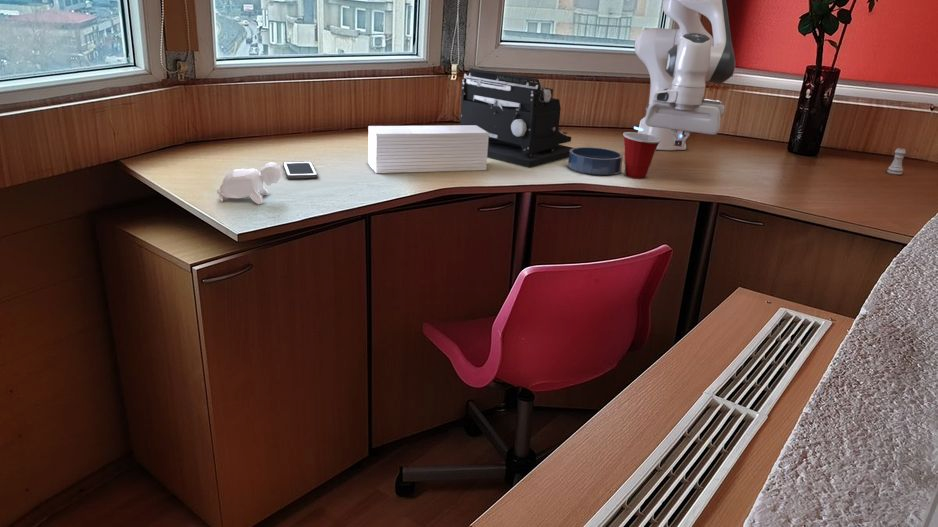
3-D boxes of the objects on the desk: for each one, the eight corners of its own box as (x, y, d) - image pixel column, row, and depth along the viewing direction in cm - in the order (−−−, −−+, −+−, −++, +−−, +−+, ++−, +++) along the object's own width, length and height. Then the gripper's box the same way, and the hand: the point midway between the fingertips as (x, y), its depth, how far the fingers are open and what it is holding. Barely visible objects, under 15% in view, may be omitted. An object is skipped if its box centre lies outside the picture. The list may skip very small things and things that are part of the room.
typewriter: (578, 155, 230) (587, 75, 221) (529, 167, 210) (537, 80, 201) (502, 138, 248) (508, 63, 239) (450, 148, 229) (454, 67, 219)
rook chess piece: (900, 172, 233) (907, 148, 230) (903, 176, 229) (910, 151, 226) (885, 171, 234) (892, 146, 231) (887, 174, 230) (894, 149, 227)
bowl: (576, 160, 223) (578, 144, 221) (625, 168, 217) (628, 152, 215) (560, 170, 209) (562, 154, 207) (613, 179, 204) (615, 162, 202)
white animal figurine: (226, 216, 164) (287, 194, 163) (209, 182, 160) (272, 160, 160) (234, 205, 171) (292, 184, 171) (218, 172, 168) (278, 151, 168)
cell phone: (311, 164, 199) (311, 161, 199) (318, 178, 186) (317, 174, 186) (282, 165, 197) (282, 161, 196) (287, 179, 184) (287, 175, 183)
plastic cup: (655, 183, 202) (662, 141, 198) (616, 178, 204) (622, 137, 200) (655, 174, 212) (661, 133, 208) (618, 170, 214) (623, 130, 210)
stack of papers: (474, 161, 214) (476, 125, 210) (486, 170, 205) (488, 132, 201) (368, 163, 204) (368, 126, 200) (375, 173, 195) (376, 133, 191)
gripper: (727, 99, 195) (718, 149, 200) (652, 90, 202) (645, 138, 207) (724, 102, 189) (715, 153, 195) (647, 93, 197) (640, 143, 202)
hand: (678, 146), depth 201 cm, fingers closed
